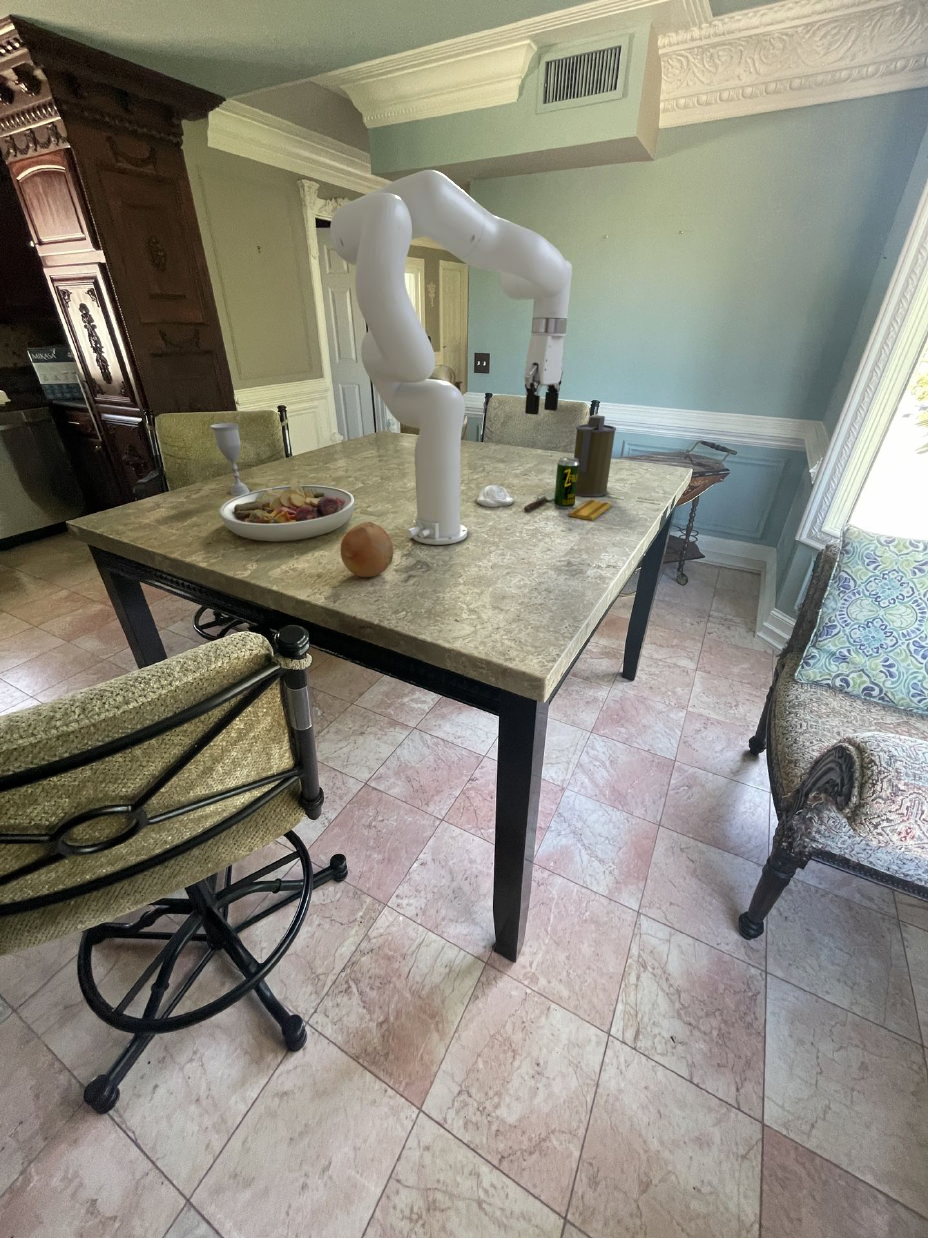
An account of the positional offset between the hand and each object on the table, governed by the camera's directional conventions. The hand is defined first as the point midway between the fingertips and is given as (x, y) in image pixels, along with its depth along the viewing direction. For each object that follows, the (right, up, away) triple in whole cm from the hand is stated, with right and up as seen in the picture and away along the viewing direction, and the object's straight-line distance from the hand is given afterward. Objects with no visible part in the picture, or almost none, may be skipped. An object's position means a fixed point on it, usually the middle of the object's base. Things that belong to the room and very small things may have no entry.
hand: (541, 411), depth 118 cm
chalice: (-82, -13, +23) cm, 86 cm away
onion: (-36, -41, -23) cm, 59 cm away
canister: (+17, -13, +24) cm, 32 cm away
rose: (-10, -18, +15) cm, 26 cm away
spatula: (+2, -18, +15) cm, 23 cm away
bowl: (-59, -26, +1) cm, 65 cm away
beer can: (+8, -20, +12) cm, 25 cm away
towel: (+14, -22, +9) cm, 27 cm away
